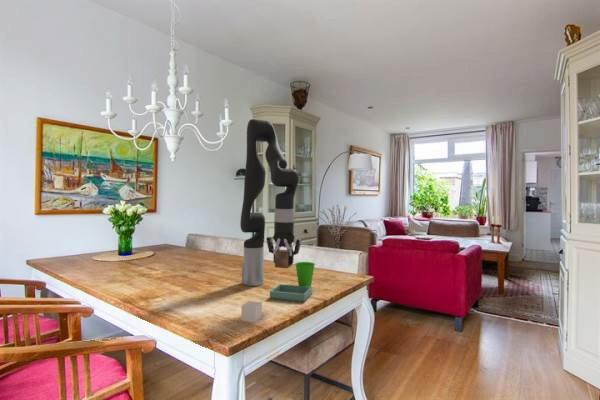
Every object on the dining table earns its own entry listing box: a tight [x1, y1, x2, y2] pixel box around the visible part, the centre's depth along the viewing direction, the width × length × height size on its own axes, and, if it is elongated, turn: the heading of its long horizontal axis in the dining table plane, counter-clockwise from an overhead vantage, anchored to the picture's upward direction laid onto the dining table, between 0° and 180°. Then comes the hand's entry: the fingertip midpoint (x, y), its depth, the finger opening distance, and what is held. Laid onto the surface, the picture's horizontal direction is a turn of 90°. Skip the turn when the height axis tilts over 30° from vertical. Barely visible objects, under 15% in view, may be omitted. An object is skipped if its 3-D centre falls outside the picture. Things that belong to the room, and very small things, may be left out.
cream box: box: [241, 300, 263, 323], centre depth 107 cm, size 5×5×5 cm
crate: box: [269, 283, 313, 303], centre depth 132 cm, size 14×11×3 cm
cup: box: [294, 261, 316, 287], centre depth 143 cm, size 9×9×11 cm
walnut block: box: [274, 248, 293, 269], centre depth 124 cm, size 5×5×6 cm
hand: (283, 264), depth 124 cm, fingers closed on walnut block, 5 cm apart
